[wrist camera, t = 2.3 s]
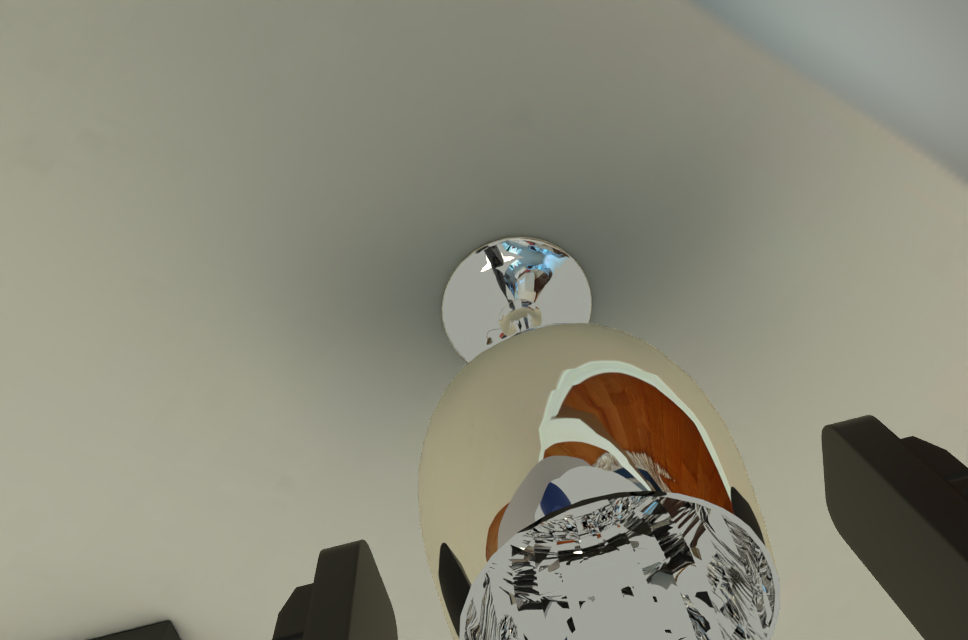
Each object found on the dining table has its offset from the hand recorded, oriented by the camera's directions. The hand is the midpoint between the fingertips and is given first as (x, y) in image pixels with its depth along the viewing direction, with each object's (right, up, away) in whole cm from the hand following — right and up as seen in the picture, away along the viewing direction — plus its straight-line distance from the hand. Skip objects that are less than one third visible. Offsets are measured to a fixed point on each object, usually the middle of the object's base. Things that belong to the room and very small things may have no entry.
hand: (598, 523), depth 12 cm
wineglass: (-1, +4, +9) cm, 10 cm away
